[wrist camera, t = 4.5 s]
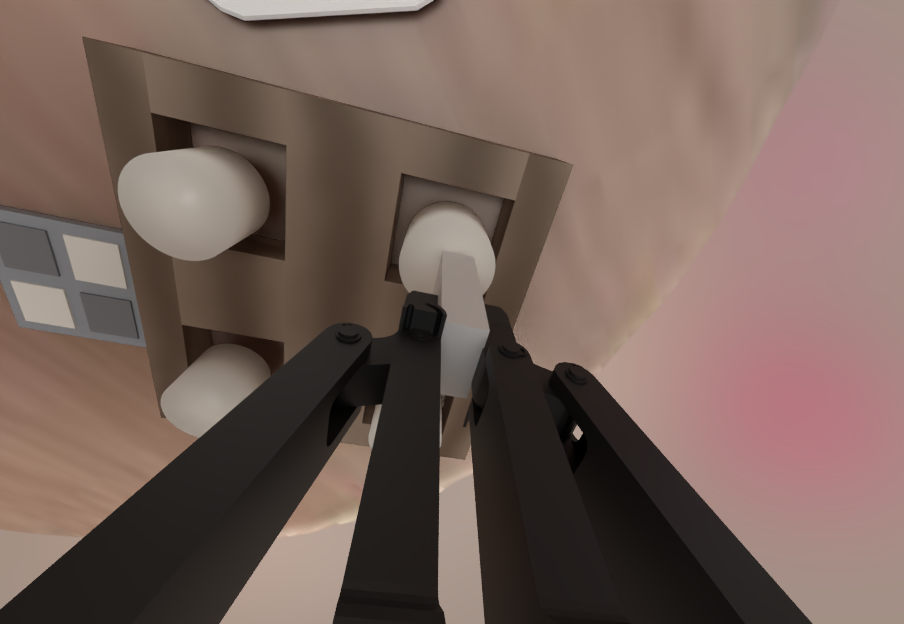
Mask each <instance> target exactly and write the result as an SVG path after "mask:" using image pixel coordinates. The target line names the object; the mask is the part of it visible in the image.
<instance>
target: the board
mask: <svg viewBox="0 0 904 624" xmlns="http://www.w3.org/2000/svg"><path fill="white" fill-rule="evenodd" d="M82 38H83V43H84V48H85V53H86V58H87V62H88V67H89V72H90V77H91V82H92V87H93V91H94V96H95V101H96V106H97V111H98V115H99V120H100V125H101V130H102V135H103V140H104V144H105V149H106V154H107V159H108V164H109V169H110V173H111V178H112V183H113V188H114V193H115V197H116V202H117V207H118V212H119V217H120V222H121V226H122V231H123V236H124V241H125V246H126V250H127V255H128V260H129V265H130V270H131V275H132V279H133V284H134V289H135V294H136V299H137V304H138V308H139V313H140V318H141V323H142V328H143V332H144V337H145V342H146V347H147V352H148V357H149V361H150V366H151V371H152V376H153V381H154V386H155V390H156V395H157V400H158V405H159V410H160V414H161V418H166V416H165V415H164V413H163V411H162V408H161V397H162V394H163V393H164V391H165V390H166V389H167V388H168V387H169V386H170V385H171V384H172V383H173V382H174V381H175V380H176V379H177V378H178V377H179V376H180V375H181V374H182V373H183V372H184V371H185V370H186V369H187V368H188V367H189V366H190V365H191V364H192V363H193V362H195V361H196V360H197V359H198V358H199V357H200V356H201V355H202V354H203V353H204V352H205V351H206V350H207V349H208V348H210V347H212V337H211V330H216V331H222V332H227V333H233V334H239V335H245V336H251V337H257V338H262V339H268V340H274V341H280V342H284V364H286V363H287V362H288V361H289V360H290V359H291V358H292V357H294V356H295V355H296V354H297V353H298V352H299V351H301V350H302V349H303V348H304V347H305V346H306V345H308V344H309V343H310V342H311V341H312V340H313V339H314V338H316V337H317V336H318V335H319V334H320V333H321V332H323V331H324V330H325V329H326V328H328V327H329V326H331V325H333V324H338V323H354V324H358V325H361V326H363V327H365V328H367V329H368V330H369V331H370V332H371V334H372V337H373V338H381V337H387V336H391V335H393V334H395V333H396V332H397V331H398V329H399V323H400V318H401V313H402V308H403V305H404V304H405V300H406V295H407V294H409V292H408V291H407V289H406V288H405V286H404V284H403V282H402V280H401V277H400V272H399V265H395V264H390V263H391V257H392V250H393V244H394V238H395V232H396V225H397V219H398V213H399V207H400V201H401V194H402V188H403V182H404V176H405V174H407V175H411V176H416V177H420V178H424V179H428V180H432V181H436V182H440V183H444V184H449V185H453V186H457V187H461V188H465V189H469V190H473V191H478V192H482V193H486V194H490V195H494V196H498V197H502V198H504V202H503V205H502V209H501V212H500V215H499V219H498V222H497V226H496V229H495V232H494V236H493V239H492V243H491V246H492V249H493V252H494V256H495V265H496V266H495V273H494V277H493V280H492V283H491V284H490V286H489V288H488V289H487V291H486V292H485V293H484V294H483V295H482V296H483V301H484V304H488V305H492V306H497V307H501V308H502V309H503V310H504V312H505V313H506V314H507V315H508V318H509V323H510V325H511V328H512V330H513V328H514V325H515V322H516V319H517V317H518V314H519V311H520V309H521V306H522V303H523V300H524V298H525V295H526V292H527V290H528V287H529V284H530V281H531V279H532V276H533V273H534V270H535V268H536V265H537V262H538V260H539V257H540V254H541V251H542V249H543V246H544V243H545V241H546V238H547V235H548V232H549V230H550V227H551V224H552V222H553V219H554V216H555V213H556V211H557V208H558V205H559V203H560V200H561V197H562V194H563V192H564V189H565V186H566V184H567V181H568V178H569V175H570V173H571V170H572V167H573V165H572V164H569V163H566V162H564V161H561V160H558V159H554V158H551V157H547V156H543V155H539V154H535V153H532V152H528V151H524V150H520V149H516V148H512V147H509V146H505V145H501V144H497V143H493V142H490V141H486V140H482V139H478V138H474V137H470V136H467V135H463V134H459V133H455V132H451V131H448V130H444V129H440V128H436V127H432V126H428V125H425V124H421V123H417V122H413V121H409V120H406V119H402V118H398V117H394V116H390V115H386V114H383V113H379V112H375V111H371V110H367V109H364V108H360V107H356V106H352V105H348V104H345V103H341V102H337V101H333V100H329V99H325V98H322V97H318V96H314V95H310V94H306V93H303V92H299V91H295V90H291V89H287V88H283V87H280V86H276V85H272V84H268V83H264V82H261V81H257V80H253V79H249V78H245V77H241V76H238V75H234V74H230V73H226V72H222V71H219V70H215V69H211V68H207V67H203V66H199V65H196V64H192V63H188V62H184V61H180V60H177V59H173V58H169V57H165V56H161V55H158V54H154V53H150V52H146V51H142V50H138V49H135V48H130V47H126V46H122V45H117V44H113V43H108V42H104V41H100V40H95V39H91V38H86V37H82ZM190 122H192V123H196V124H200V125H205V126H209V127H213V128H217V129H221V130H225V131H229V132H234V133H238V134H242V135H246V136H250V137H254V138H258V139H262V140H267V141H271V142H275V143H279V144H283V145H286V224H285V242H284V241H279V240H274V239H269V238H265V237H260V236H255V235H249V236H248V237H246V238H244V239H243V240H241V241H240V242H238V243H236V244H235V245H233V246H231V247H230V248H228V249H226V250H225V251H223V252H222V253H220V254H218V255H217V256H215V257H213V258H210V259H207V260H202V261H188V260H182V259H178V258H174V257H172V256H169V255H167V254H165V253H163V252H161V251H159V250H157V249H156V248H154V247H153V246H151V245H150V244H149V243H147V242H146V241H145V240H144V239H143V238H142V237H141V236H140V235H139V234H138V233H137V232H136V231H135V230H134V229H133V227H132V226H131V225H130V223H129V222H128V220H127V218H126V217H125V215H124V213H123V210H122V208H121V205H120V202H119V198H118V180H119V176H120V174H121V171H122V170H123V168H124V166H125V165H126V164H127V163H128V162H129V161H131V160H132V159H133V158H135V157H137V156H139V155H142V154H146V153H154V152H162V151H170V150H179V149H187V148H192V141H191V131H190ZM471 399H472V386H471V389H470V392H469V395H468V398H467V399H465V398H459V397H453V396H447V395H446V398H445V402H444V405H443V409H442V441H441V447H440V456H442V457H449V458H456V459H463V460H465V458H466V455H467V453H468V450H469V447H470V444H471V437H470V424H469V421H468V423H467V426H466V427H463V423H464V419H465V416H466V413H467V410H468V408H469V405H470V402H471ZM375 406H376V405H369V406H362V408H361V411H360V413H359V415H358V416H357V418H356V419H355V421H354V422H353V424H352V425H351V427H350V428H349V430H348V431H347V433H346V434H345V436H344V437H343V439H342V440H341V443H348V444H355V445H363V446H370V445H369V441H368V437H369V432H370V428H371V423H372V419H373V415H374V410H375Z"/></svg>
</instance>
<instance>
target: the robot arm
mask: <svg viewBox="0 0 904 624" xmlns="http://www.w3.org/2000/svg"><path fill="white" fill-rule="evenodd" d="M471 386H472V399H471V402H470V405H469V408H468V410H467V413H466V416H465V419H464V423H463V427H466V426H467V423H468V421H469V424H470V437H471V450H472V463H473V476H474V489H475V502H476V515H477V527H478V540H479V553H480V566H481V578H482V592H483V605H484V618H485V624H812V623H811V622H810V621H809V619H808V618H807V617H806V616H805V615H804V614H803V613H802V611H801V610H800V609H799V608H798V607H797V606H796V605H795V603H794V602H793V601H792V600H791V599H790V598H789V597H788V595H786V593H785V592H784V591H783V590H782V589H781V588H780V586H779V585H778V584H777V583H776V582H775V581H774V580H773V578H772V577H771V576H770V575H769V574H768V573H767V572H766V571H765V569H764V568H762V566H761V565H760V564H759V563H758V561H757V560H756V559H755V558H754V557H753V556H752V555H751V554H750V552H749V551H748V550H747V549H746V548H745V547H744V546H743V544H742V543H741V542H740V541H739V540H738V539H737V538H736V537H735V535H734V534H733V533H732V532H731V531H730V530H729V529H728V527H727V526H726V525H725V524H724V523H723V522H722V521H721V520H720V519H719V517H718V516H717V515H716V514H715V513H714V512H713V510H712V509H711V508H710V507H709V506H708V505H707V504H706V503H705V501H703V499H702V498H701V497H700V496H699V495H698V494H697V492H696V491H695V490H694V489H693V488H692V487H691V486H690V484H689V483H688V482H687V481H686V480H685V479H684V478H683V477H682V475H681V474H680V473H679V472H678V471H677V470H676V469H675V467H674V466H673V465H672V464H671V463H670V462H669V461H668V460H667V458H666V457H665V456H664V455H663V454H662V453H661V451H660V450H659V449H658V448H657V447H656V446H655V445H654V444H653V442H652V441H651V440H650V439H649V438H648V437H647V436H646V435H645V434H644V432H643V431H642V430H641V429H640V428H639V427H638V425H637V424H636V423H635V422H634V421H633V420H632V419H631V417H630V416H629V415H628V414H627V413H626V412H625V411H624V410H623V408H622V407H621V406H620V405H619V404H618V403H617V402H616V400H615V399H614V398H613V397H612V396H611V395H610V394H609V393H608V391H607V390H606V389H605V388H604V387H603V386H602V385H601V384H600V382H599V381H598V380H597V379H596V378H595V377H594V376H593V375H592V374H591V373H590V372H589V371H587V370H586V369H584V368H583V367H581V366H579V365H576V364H573V363H567V362H563V363H558V364H557V365H556V366H555V368H554V370H553V371H550V370H547V369H545V368H542V367H540V366H537V365H535V364H533V362H532V359H531V356H530V354H529V353H528V351H527V350H526V349H525V348H524V347H523V346H521V345H520V344H518V343H516V340H515V337H514V334H513V331H512V328H511V325H510V323H509V318H508V315H507V314H506V313H505V312H504V310H503V309H502V308H501V307H497V306H492V305H488V304H484V301H483V296H482V292H481V287H480V282H479V278H478V273H477V268H476V264H475V259H474V257H471V256H466V255H462V254H457V253H452V252H448V251H443V250H442V255H441V259H440V264H439V268H438V272H437V277H436V281H435V285H434V290H433V294H429V293H424V292H419V291H414V290H413V291H411V292H410V293H409V294H407V295H406V300H405V304H404V305H403V308H402V313H401V318H400V323H399V329H398V331H397V332H396V333H395V334H393V335H391V336H387V337H381V338H373V337H372V334H371V332H370V331H369V330H368V329H367V328H365V327H363V326H361V325H358V324H354V323H338V324H333V325H331V326H329V327H328V328H326V329H325V330H324V331H323V332H321V333H320V334H319V335H318V336H317V337H316V338H314V339H313V340H312V341H311V342H310V343H309V344H308V345H306V346H305V347H304V348H303V349H302V350H301V351H299V352H298V353H297V354H296V355H295V356H294V357H292V358H291V359H290V360H289V361H288V362H287V363H286V364H284V365H283V366H282V367H281V368H280V369H279V370H277V371H276V372H275V373H274V374H273V375H272V376H270V377H269V378H268V379H267V380H266V381H265V382H263V383H262V384H261V385H260V386H259V387H258V388H257V389H255V390H254V391H253V392H252V393H251V394H250V395H248V396H247V397H246V398H245V399H244V400H243V401H241V402H240V403H239V404H238V405H237V406H236V407H235V408H233V409H232V410H231V411H230V412H229V413H228V414H226V415H225V416H224V417H223V418H222V419H221V420H219V421H218V422H217V423H216V424H215V425H214V426H212V427H211V428H210V429H209V430H208V431H207V432H206V433H204V434H203V435H202V436H201V437H200V438H199V439H197V440H196V441H195V442H194V443H193V444H192V445H190V446H189V447H188V448H187V449H186V450H185V451H184V452H182V453H181V454H180V455H179V456H178V457H177V458H175V459H174V460H173V461H172V462H171V463H170V464H168V465H167V466H166V467H165V468H164V469H163V470H161V471H160V472H159V473H158V474H157V475H156V476H155V477H153V478H152V479H151V480H150V481H149V482H148V483H146V484H145V485H144V486H143V487H142V488H141V489H139V490H138V491H137V492H136V493H135V494H134V495H133V496H131V497H130V498H129V499H128V500H127V501H126V502H124V503H123V504H122V505H121V506H120V507H119V508H117V509H116V510H115V511H114V512H113V513H112V514H110V515H109V516H108V517H107V518H106V519H105V520H104V521H102V522H101V523H100V524H99V525H98V526H97V527H95V528H94V529H93V530H92V531H91V532H90V533H88V534H87V535H86V536H85V537H84V538H83V539H82V540H81V541H79V542H78V543H77V544H76V545H75V546H74V547H72V548H71V549H70V550H69V551H68V552H67V553H65V554H64V555H63V556H62V557H61V558H59V559H58V560H57V561H56V562H55V563H54V564H53V565H51V566H50V567H49V568H48V569H47V570H46V571H45V572H43V573H42V574H41V575H40V576H39V577H37V578H36V579H35V580H34V581H33V582H32V583H31V584H29V585H28V586H27V587H26V588H25V589H24V590H22V591H21V592H20V593H19V594H18V595H17V596H16V597H14V598H13V599H12V600H11V601H10V602H8V603H7V604H6V605H5V606H4V607H3V608H2V609H0V624H219V623H220V622H221V620H222V619H223V617H224V616H225V614H226V613H227V611H228V610H229V608H230V607H231V605H232V604H233V602H234V600H235V599H236V598H237V596H238V595H239V593H240V592H241V590H242V589H243V587H244V586H245V584H246V583H247V581H248V579H249V578H250V577H251V575H252V574H253V572H254V571H255V569H256V567H257V566H258V564H259V563H260V562H261V560H262V559H263V557H264V556H265V554H266V553H267V551H268V550H269V548H270V547H271V545H272V544H273V542H274V541H275V539H276V538H277V536H278V535H279V533H280V532H281V530H282V529H283V527H284V526H285V524H286V523H287V521H288V520H289V518H290V517H291V515H292V514H293V512H294V511H295V509H296V508H297V506H298V505H299V503H300V502H301V500H302V499H303V497H304V496H305V494H306V493H307V491H308V490H309V488H310V487H311V485H312V484H313V482H314V481H315V479H316V478H317V476H318V475H319V473H320V472H321V470H322V469H323V467H324V466H325V464H326V463H327V461H328V460H329V458H330V457H331V455H332V454H333V452H334V451H335V449H336V448H337V446H338V445H339V443H340V442H341V440H342V439H343V437H344V436H345V434H346V433H347V431H348V430H349V428H350V427H351V425H352V424H353V422H354V421H355V419H356V418H357V416H358V415H359V413H360V411H361V408H362V406H369V405H380V404H382V406H381V411H380V415H379V420H378V424H377V429H376V433H375V438H374V443H373V447H372V452H371V456H370V461H369V465H368V470H367V474H366V479H365V484H364V488H363V493H362V497H361V502H360V506H359V511H358V515H357V520H356V524H355V529H354V534H353V539H352V543H351V548H350V552H349V556H348V561H347V565H346V570H345V575H344V579H343V584H342V588H341V592H340V596H339V599H338V603H337V607H336V611H335V615H334V620H333V624H446V623H445V617H444V612H443V610H442V608H441V607H440V605H439V600H438V535H439V532H438V531H439V462H440V394H441V395H447V396H453V397H459V398H465V399H467V398H468V395H469V392H470V389H471ZM577 425H578V426H579V428H580V429H581V431H582V432H583V434H582V436H581V438H580V439H579V440H577V439H576V438H575V436H574V435H573V431H574V429H575V427H576V426H577Z"/></svg>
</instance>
